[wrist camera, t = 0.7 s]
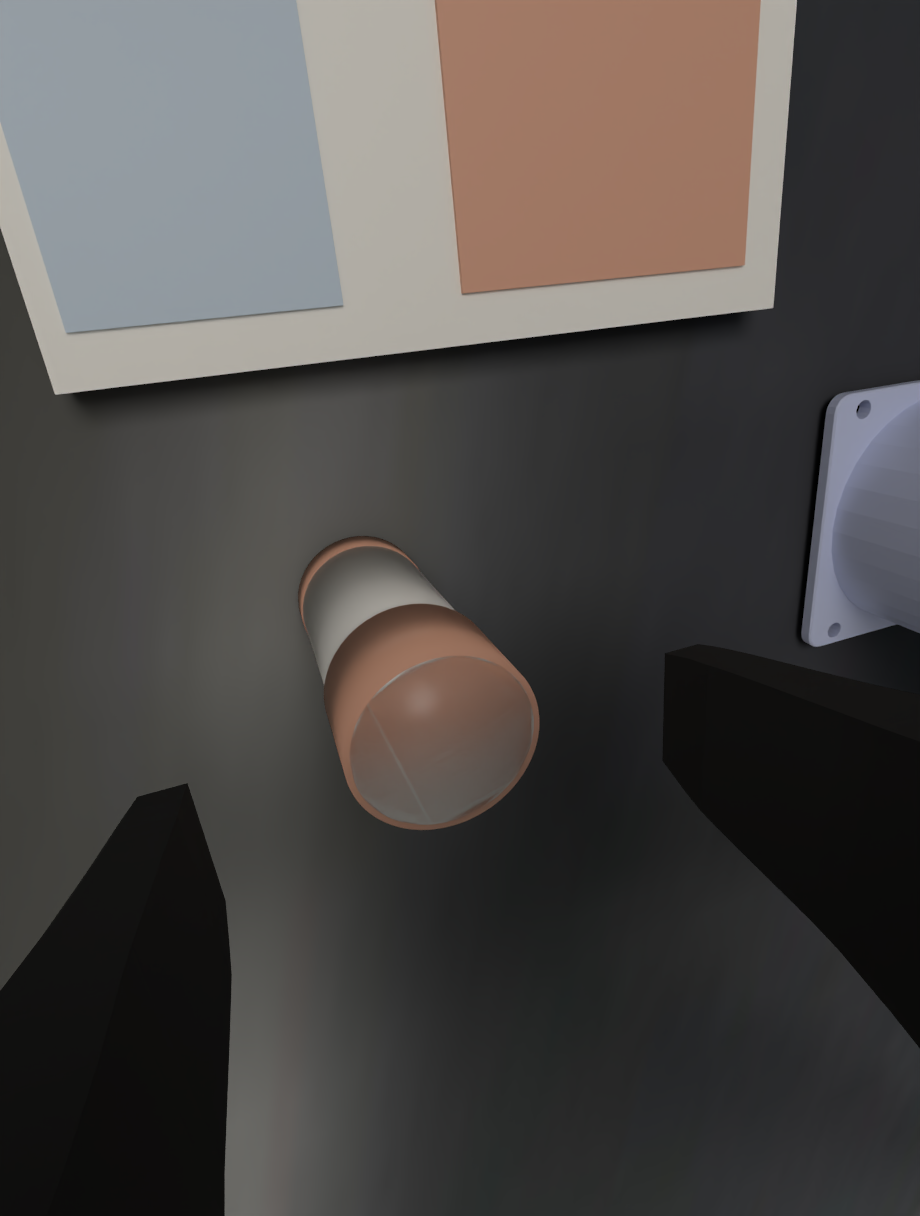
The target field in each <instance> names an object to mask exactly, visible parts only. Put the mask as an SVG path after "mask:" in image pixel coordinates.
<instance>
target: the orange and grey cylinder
mask: <svg viewBox="0 0 920 1216" xmlns="http://www.w3.org/2000/svg"><path fill="white" fill-rule="evenodd" d="M298 603H299V610H300V613H301V616H302V620H303V623H304V626H305V629H306V631H307V633H308V636H309V639H310V642H311V646H312V649H313V652H314V655H315V659H316V662H317V665H318V668H319V671H320V675H321V678H322V681H323V684H324V703H325V710H326V713H327V716H328V720H329V723H330V727H331V730H332V733H333V737H334V740H335V743H336V747H337V750H338V754H339V757H340V760H341V764H342V767H343V771H344V774H345V777H346V781H347V784H348V786H349V788H350V790H351V792H352V794H353V796H354V797H355V798H356V800H357V801H358V803H359V804H360V805H361V806H362V807H363V808H364V809H365V810H366V811H367V812H369V813H370V814H371V815H373V816H374V817H376V818H377V819H379V820H381V821H383V822H385V823H388V824H390V825H393V826H396V827H401V828H405V829H413V830H433V829H439V828H445V827H449V826H453V825H457V824H459V823H462V822H465V821H467V820H470V819H472V818H474V817H476V816H478V815H480V814H481V813H483V812H484V811H486V810H488V809H489V808H491V807H492V806H493V805H495V804H496V803H497V802H498V801H500V800H501V799H502V798H503V797H504V796H505V795H506V794H507V793H508V792H509V791H510V790H511V789H512V788H513V787H514V786H515V784H516V783H517V782H518V781H519V779H520V778H521V776H522V775H523V774H524V772H525V770H526V768H527V767H528V765H529V763H530V761H531V758H532V756H533V754H534V751H535V748H536V744H537V740H538V734H539V711H538V705H537V702H536V698H535V695H534V693H533V691H532V689H531V687H530V685H529V684H528V682H527V681H526V679H525V678H524V677H523V676H522V675H521V674H520V672H519V671H518V670H517V669H516V668H515V667H514V666H513V665H512V664H511V663H510V662H509V661H508V660H507V658H506V657H505V656H504V655H503V654H502V653H501V652H500V651H499V650H498V649H497V648H496V647H495V645H494V644H493V643H492V642H491V641H490V640H489V639H488V638H487V637H486V636H485V635H484V634H483V633H482V631H481V630H480V629H479V628H478V627H477V626H476V625H475V624H474V623H473V622H472V621H471V620H469V619H468V618H467V617H465V616H464V615H462V614H460V613H458V612H457V611H455V610H454V609H453V607H452V606H451V605H450V604H449V603H448V602H447V601H446V600H445V599H444V597H443V596H442V595H441V594H440V593H439V592H438V591H437V590H436V589H435V587H434V586H433V585H432V584H431V583H430V582H429V581H428V580H427V579H426V577H425V576H424V575H423V574H422V573H421V572H420V570H419V569H418V568H417V566H416V565H415V564H414V563H413V562H412V561H411V560H410V558H409V557H408V556H407V555H406V554H405V553H404V552H403V551H402V550H401V549H399V548H398V547H397V546H395V545H393V544H392V543H390V542H388V541H385V540H383V539H379V538H376V537H369V536H357V537H350V538H346V539H342V540H340V541H337V542H335V543H333V544H331V545H329V546H327V547H326V548H325V549H323V550H322V551H321V552H319V553H318V554H317V555H316V556H315V557H314V558H313V560H312V561H311V562H310V563H309V565H308V566H307V568H306V570H305V572H304V574H303V576H302V579H301V582H300V585H299V592H298Z"/></svg>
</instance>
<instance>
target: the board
mask: <svg viewBox="0 0 920 1216" xmlns="http://www.w3.org/2000/svg"><path fill="white" fill-rule="evenodd" d="M796 5H797V0H0V228H1V231H2V234H3V237H4V240H5V243H6V246H7V249H8V252H9V255H10V258H11V261H12V264H13V267H14V270H15V273H16V276H17V280H18V283H19V286H20V289H21V292H22V295H23V298H24V301H25V304H26V307H27V310H28V313H29V316H30V319H31V322H32V325H33V328H34V331H35V334H36V338H37V341H38V344H39V347H40V350H41V353H42V356H43V359H44V362H45V365H46V368H47V371H48V374H49V377H50V380H51V383H52V386H53V389H54V392H55V395H57V394H66V393H74V392H82V391H90V390H99V389H107V388H115V387H123V386H132V385H140V384H148V383H157V382H165V381H173V380H181V379H190V378H198V377H206V376H214V375H223V374H231V373H239V372H248V371H256V370H264V369H272V368H281V367H289V366H297V365H305V364H314V363H322V362H330V361H338V360H347V359H355V358H363V357H372V356H380V355H388V354H396V353H405V352H413V351H421V350H429V349H438V348H446V347H454V346H463V345H471V344H479V343H487V342H496V341H504V340H512V339H520V338H529V337H537V336H545V335H553V334H562V333H570V332H578V331H587V330H595V329H603V328H611V327H620V326H628V325H636V324H644V323H653V322H661V321H669V320H677V319H686V318H694V317H702V316H711V315H719V314H727V313H735V312H744V311H752V310H760V309H768V308H773V304H774V291H775V278H776V265H777V252H778V239H779V226H780V213H781V200H782V187H783V174H784V161H785V148H786V135H787V122H788V109H789V96H790V83H791V70H792V57H793V44H794V31H795V18H796Z"/></svg>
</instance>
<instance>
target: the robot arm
mask: <svg viewBox="0 0 920 1216" xmlns="http://www.w3.org/2000/svg"><path fill="white" fill-rule="evenodd" d="M858 405H859V410H858V412H857V413H856V410H857V407H858ZM896 624H898V625H901V626H903V627H905V628H908V629H910V630H913V631H915V632H918V633H920V380H917V381H911V382H905V383H899V384H893V385H887V386H881V387H875V388H869V389H863V390H857V391H851V392H845V393H841V394H838V395H836V396H835V397H834V398H833V399H832V400H831V402H830V403H829V405H828V407H827V411H826V417H825V426H824V435H823V444H822V453H821V462H820V471H819V480H818V488H817V497H816V506H815V515H814V524H813V533H812V542H811V551H810V560H809V569H808V578H807V587H806V596H805V604H804V613H803V622H802V631H801V635H802V639H803V641H804V642H806V643H808V644H810V645H812V646H814V647H819V646H823V645H826V644H830V643H833V642H837V641H840V640H844V639H847V638H851V637H854V636H858V635H861V634H865V633H868V632H872V631H875V630H879V629H882V628H886V627H889V626H893V625H896ZM829 627H830V628H829ZM663 762H664V763H665V765H666V766H667V767H668V769H669V770H670V771H671V773H672V774H673V775H674V777H675V778H676V780H677V781H678V782H679V784H680V785H681V786H682V788H683V789H684V790H685V792H686V793H687V794H688V795H689V797H690V798H691V799H692V800H693V802H694V803H695V804H696V805H697V807H698V808H699V809H700V810H701V811H702V813H703V814H704V815H705V816H706V817H707V818H708V819H709V820H710V821H711V822H712V823H713V824H714V825H715V826H716V827H717V828H718V829H719V830H720V831H721V832H722V833H723V834H724V835H725V836H726V837H727V838H728V839H729V840H730V841H731V842H732V843H733V844H734V845H735V846H736V847H737V848H738V849H739V850H740V851H741V852H742V853H743V854H744V855H745V856H746V857H747V858H748V859H749V860H750V861H751V862H752V863H753V864H754V865H755V866H756V867H757V868H758V869H759V870H760V871H761V872H762V873H763V874H764V875H765V876H766V877H767V878H768V879H769V880H770V881H771V882H772V883H773V884H774V885H775V886H776V887H777V888H778V889H779V890H781V891H782V892H783V893H784V894H785V895H786V896H787V897H788V898H789V899H790V900H791V901H792V902H793V903H794V904H795V905H796V906H797V907H798V908H799V909H800V910H801V911H802V912H803V913H804V914H805V915H806V916H807V917H808V918H809V919H810V920H811V921H812V922H813V923H814V924H815V925H816V926H817V927H818V928H819V929H820V931H821V932H822V933H823V934H824V935H825V936H826V937H827V938H828V939H829V940H830V941H831V942H832V943H833V944H834V945H835V947H836V948H837V949H838V950H839V951H840V952H841V953H842V954H843V956H844V957H845V958H846V959H847V960H848V962H849V963H850V964H851V965H852V966H853V967H854V969H855V970H856V971H857V972H858V973H859V975H860V976H861V977H862V978H863V979H864V981H865V982H866V983H867V984H868V985H869V986H870V988H871V989H872V990H873V991H874V992H875V994H876V995H877V996H878V997H879V998H880V1000H881V1001H882V1002H883V1003H884V1004H885V1005H886V1007H887V1008H888V1009H889V1010H890V1011H891V1013H892V1014H893V1015H894V1016H895V1018H896V1019H897V1020H898V1021H899V1023H900V1024H901V1025H902V1026H903V1028H904V1029H905V1030H906V1031H907V1033H908V1034H909V1035H910V1036H911V1038H912V1039H913V1040H914V1042H915V1043H916V1044H917V1045H918V1047H919V1048H920V695H918V694H914V693H909V692H904V691H899V690H895V689H890V688H885V687H881V686H877V685H872V684H868V683H864V682H860V681H855V680H851V679H847V678H843V677H839V676H835V675H831V674H827V673H823V672H819V671H815V670H811V669H807V668H803V667H799V666H795V665H791V664H787V663H783V662H779V661H775V660H771V659H767V658H763V657H759V656H755V655H751V654H746V653H742V652H738V651H733V650H729V649H724V648H718V647H713V646H706V645H694V646H690V647H687V648H683V649H679V650H676V651H672V652H668V653H665V677H664V721H663ZM231 976H232V974H231V961H230V948H229V935H228V924H227V913H226V902H225V898H224V895H223V892H222V889H221V886H220V883H219V879H218V876H217V873H216V870H215V867H214V864H213V861H212V858H211V855H210V852H209V849H208V846H207V842H206V839H205V836H204V833H203V830H202V827H201V824H200V821H199V818H198V815H197V812H196V809H195V805H194V802H193V799H192V796H191V793H190V790H189V787H188V784H183V785H179V786H176V787H172V788H168V789H165V790H161V791H157V792H154V793H150V794H146V795H143V796H139V797H137V798H136V800H135V801H134V803H133V804H132V806H131V807H130V808H129V810H128V811H127V813H126V814H125V816H124V817H123V818H122V820H121V821H120V823H119V824H118V826H117V827H116V829H115V830H114V832H113V833H112V835H111V836H110V838H109V840H108V841H107V843H106V844H105V846H104V847H103V849H102V850H101V852H100V853H99V855H98V856H97V858H96V859H95V861H94V862H93V864H92V865H91V867H90V868H89V870H88V871H87V873H86V874H85V876H84V877H83V879H82V880H81V881H80V883H79V884H78V886H77V887H76V889H75V890H74V891H73V893H72V894H71V896H70V897H69V899H68V900H67V901H66V903H65V904H64V906H63V907H62V909H61V910H60V911H59V913H58V914H57V916H56V917H55V919H54V920H53V922H52V923H51V924H50V926H49V927H48V929H47V930H46V931H45V933H44V934H43V936H42V937H41V938H40V940H39V941H38V942H37V944H36V945H35V946H34V948H33V949H32V950H31V952H30V953H29V954H28V955H27V957H26V958H25V959H24V961H23V962H22V963H21V965H20V966H19V967H18V969H17V970H16V971H15V972H14V974H13V975H12V976H11V978H10V979H9V980H8V982H7V983H6V984H5V986H4V987H3V988H2V989H1V991H0V1216H224V1170H225V1144H226V1118H227V1091H228V1065H229V1039H230V1010H231Z"/></svg>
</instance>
